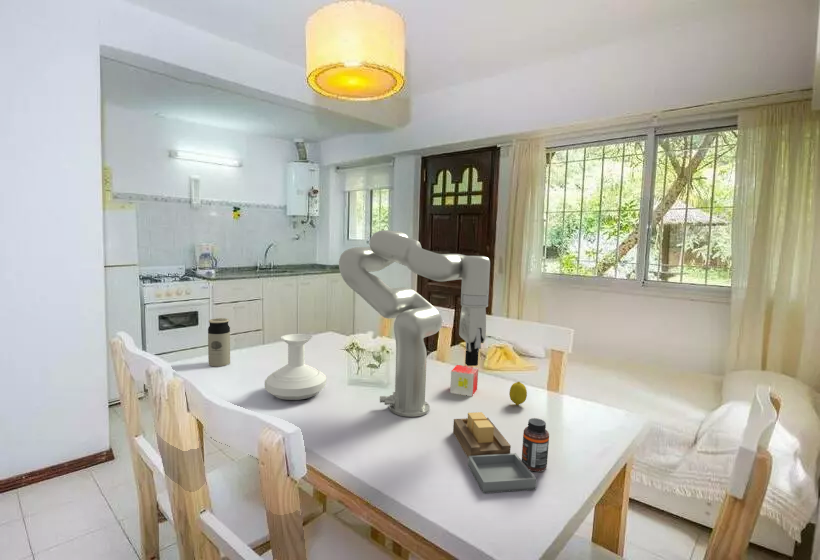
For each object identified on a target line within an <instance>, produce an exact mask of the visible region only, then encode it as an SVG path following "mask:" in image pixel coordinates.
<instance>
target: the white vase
mask: <svg viewBox="0 0 820 560" xmlns="http://www.w3.org/2000/svg"><path fill="white" fill-rule="evenodd" d="M312 338H313V336H312V335H310V334H307V333H291V334H285V335H282V336H280V339H281V341H283V342H284V343H286V344H287V364H286V365H284V366H282V367H280V368H278V369H276V370H275V371H273V372H272V373H271V374H270V375H268V376H267V377H266V378H265V380H264V389H265V390H266V392H267V393H269V394H271V396H274V397H275V398H277V399H279V400H286V401H299V400H305V399H309V398H313V397H314V396H316V395H317V394H319V393H320V392H321V391H323V389H325V388H326V385H327V375H325V374H324V373H323V372H322V371H320V370H318V369H317V368H315V367H314V366H311V365H309V364H307V363H306V361H305V358H306V357H305V356H306V355H305V354H306V353H305V352H306V351H305V349H306V347H305V346H306V344H307V343H308V342H309V341H311V340H312Z"/></svg>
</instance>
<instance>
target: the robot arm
mask: <svg viewBox="0 0 820 560" xmlns="http://www.w3.org/2000/svg"><path fill="white" fill-rule="evenodd" d="M368 244H369V246H362V247H361V246H360V247H358V246H357V247H356V246H355V247H351V248H348V249H346V250H344V251H343V252H341V254H340V256H339V259H338V267H339V273H340V276H341V278H342V279H343V281H344V283H346V285H347V286H348V287H349V288H350V289H351V290H352V291H354V292H355V293H356V294H358V296H360V297H361V298H362V299H363V300H364V301H365V302H366V303H367V304H369V306H370V307H371V308H372V309H374V310H375V311H376V313H378V314H379V315H380V316H382V317H383V318H385V319H390V320H391V319H395V320H394V322H393V332H394V338H395V339H394V340H395V377H394V379H395V380H394V381H395V382H394V391H393V392H392V394H390V395H389V396H386V395H380V396H379V403H380V404H381V403H383V404H384V405H386V406H389V410H390V411H391V413H393V414H394V415H397V416H400V417H409V418H411V417H412V418H417V417H421V416H424V415H426V414H428V413H429V412H430V410H431V409H430V404H429V403H428V402H427V401H426V387H427V386H426V385H427V384H426V383H427V360H428V359H427V358H428V357H427V356H428V355H427V354H428V353H427V348H426V344H425V342H424V341H425V340H424V338H427V337H430V336H433V335H435V334H437V333H438V332H439V331H440V330H441V329H442V326H443V318H442V315H441V313H440V312H439V310H438V309H437V307H435V306H434V305H432V304H431V303H430V302H429V301H428V300H427V299H425V298H424V297H423V296H422V295H421V294H419V292H417V291H415V290H414V289H412V288H410V287H406V286H402V287H401V286H400V287H391V286H389V285H388V284H386V283H385V282H384V281H383V280H382V279H381V278H379V277H378V276H377V275H374V274H373V272H379V271H382V270H384V269H386V268H387V267H388V266H390V265H392V264H393V263H397V264H399V265H402V266H405V267H407V268H408V269H409V270H410V271H411V272H412V273H414V274H416V275H418V276H421V277H424V278H427V279H428V280H432V281H434V282H435V281H436V282H447V281H448V282H449V281H456V280H461V292H460V306H461V309H460V318H459V326H458V327H459V328H458V334H459V336H460V338H461V339H462V340H464V342H465V362H464V363H465V366H468V367H477V366H478V364H479V352H480V349H481V348H482V344H483V343H485V341H486V337H487V336H486V335H487V332H486V331H487V312H486V311H487V309H486V308H488V307H489V293H490V274H491V273H490V272H491V260H490V258H489V257H487V256H485V255H465V254H460V253H438V252H435V251H434V252H433V251H430V250H428V249H424V248H422V245H421V242H420V241H418V240H417V239H414V238H410V237H409V236H408V235H407V234H406V233H405V232H402V231H399V230H388V229H387V230H384V229H382V230H378V231H376V232H374V233H373V234H372V235H371V237H370V238H369V242H368Z"/></svg>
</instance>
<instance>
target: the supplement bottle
mask: <svg viewBox="0 0 820 560" xmlns="http://www.w3.org/2000/svg"><path fill="white" fill-rule="evenodd" d="M546 428H547V424H546V421H545V420H544V419H540V418H535V417H534V418H529V420H528V424H527V426H526V427H525V428H524V429H523V434H522V449H521V460H522V462H523V463H524V464H525V465H526V467H527V468H528V469H529V470H530V472H536V473H538V472H539V473H540V472H543V471H545V470H547V467H548V457H549V456H548V454H549V444H550V433H549V431H548V430H547V429H546Z"/></svg>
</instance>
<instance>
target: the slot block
mask: <svg viewBox="0 0 820 560" xmlns="http://www.w3.org/2000/svg"><path fill="white" fill-rule="evenodd" d="M486 418H487V420H489V422H490V423H491V424H492V425H493V427H494V433H493V442H486V443H478V442H477V441H476V439H475V438H474V436H473V434H472V433H471V432H470V430H469V429H468V427H467V421H468V417H467V418H454V419H453V425H452V426H453V429H452V430H453V431H452V434H453V435H454V437H455V439H456V440H457V442H458V444H459V446H460V447H461V449H462V451H463V452H464V454H465V456H466V458H467V459H468V456H475V455H493V454H511V447H512V445H511V444H510V443H509V442H508V441H507V439H506V438H505V437H504V435H503V434H502V433H501V432H500V431H499V430H498V428H497V427H496V425H495V424H494V422H492V421H491V420H490V418H489V417H486Z"/></svg>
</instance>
